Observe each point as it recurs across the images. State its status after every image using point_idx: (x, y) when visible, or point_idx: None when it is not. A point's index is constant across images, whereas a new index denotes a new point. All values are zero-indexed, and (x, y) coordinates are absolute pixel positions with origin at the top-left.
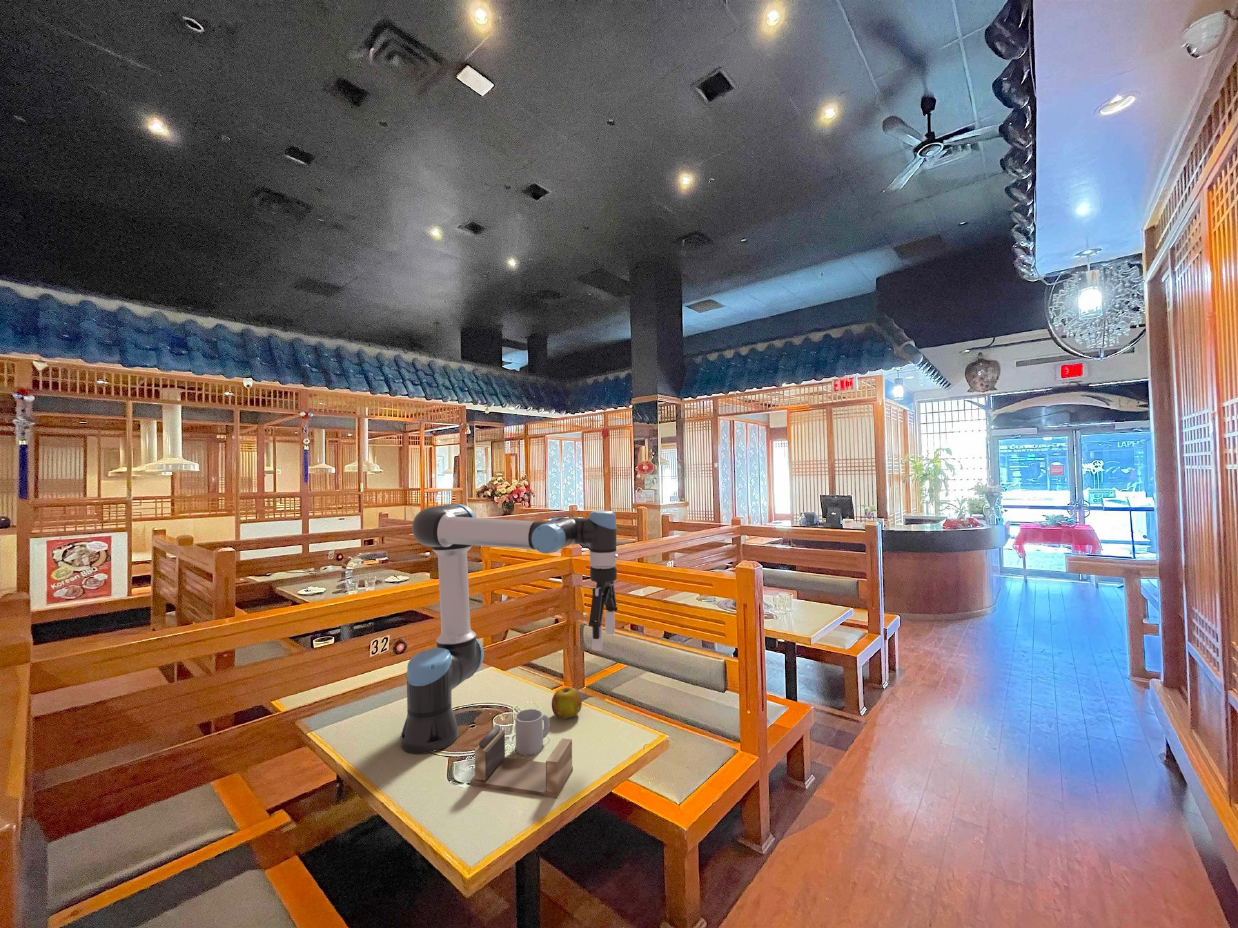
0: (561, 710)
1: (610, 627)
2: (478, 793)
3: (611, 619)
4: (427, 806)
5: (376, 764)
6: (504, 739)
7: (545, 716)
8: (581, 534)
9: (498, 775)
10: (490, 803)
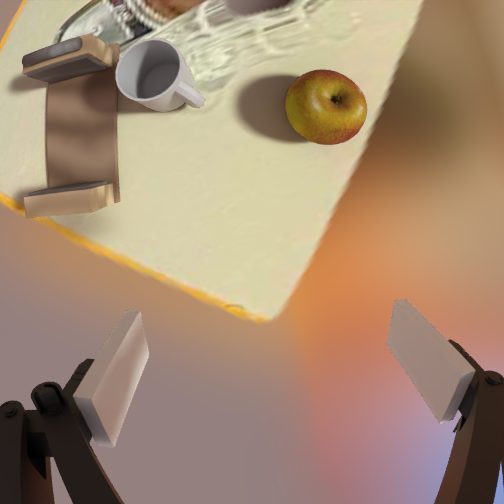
0: (285, 105)
1: (403, 346)
2: (40, 87)
3: (424, 379)
4: (15, 49)
5: None
6: (91, 61)
7: (184, 97)
8: None
9: (67, 90)
10: (26, 119)
